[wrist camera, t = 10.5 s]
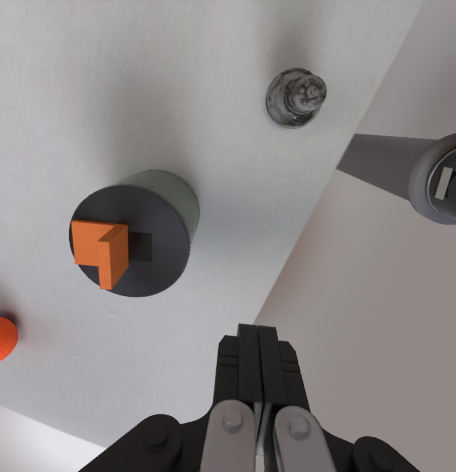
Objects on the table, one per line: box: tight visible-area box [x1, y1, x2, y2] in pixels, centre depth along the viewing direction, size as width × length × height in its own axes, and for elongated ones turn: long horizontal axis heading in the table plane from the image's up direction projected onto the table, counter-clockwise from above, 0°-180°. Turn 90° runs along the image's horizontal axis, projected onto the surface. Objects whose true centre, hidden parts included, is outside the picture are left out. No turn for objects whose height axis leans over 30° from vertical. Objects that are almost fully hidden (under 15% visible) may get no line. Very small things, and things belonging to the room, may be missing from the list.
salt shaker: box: [266, 68, 327, 129], centre depth 29 cm, size 6×6×12 cm
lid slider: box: [71, 219, 129, 290], centre depth 26 cm, size 5×4×4 cm
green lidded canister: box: [69, 170, 200, 297], centre depth 34 cm, size 12×12×12 cm
